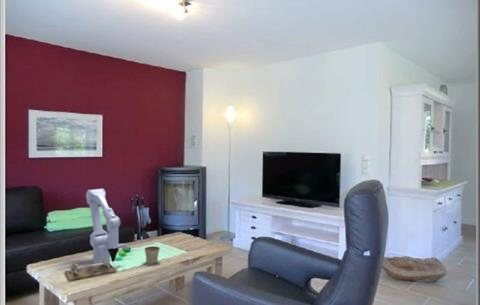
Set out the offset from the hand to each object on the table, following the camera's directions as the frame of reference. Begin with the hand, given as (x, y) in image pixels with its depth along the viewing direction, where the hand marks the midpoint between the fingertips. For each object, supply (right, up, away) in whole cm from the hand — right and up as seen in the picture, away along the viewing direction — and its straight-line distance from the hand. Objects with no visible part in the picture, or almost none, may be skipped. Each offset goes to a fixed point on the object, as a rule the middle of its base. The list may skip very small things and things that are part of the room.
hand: (112, 261), depth 206 cm
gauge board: (-9, -4, -10) cm, 14 cm away
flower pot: (+21, -4, +9) cm, 23 cm away
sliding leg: (-2, -2, -4) cm, 5 cm away
